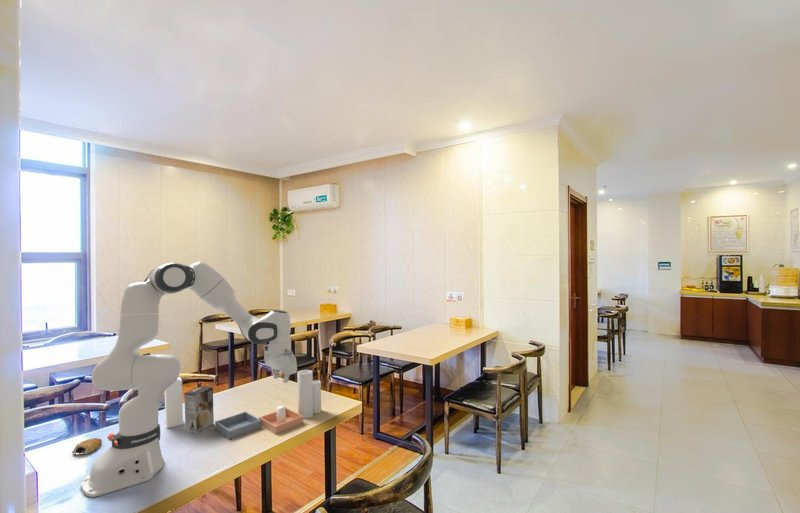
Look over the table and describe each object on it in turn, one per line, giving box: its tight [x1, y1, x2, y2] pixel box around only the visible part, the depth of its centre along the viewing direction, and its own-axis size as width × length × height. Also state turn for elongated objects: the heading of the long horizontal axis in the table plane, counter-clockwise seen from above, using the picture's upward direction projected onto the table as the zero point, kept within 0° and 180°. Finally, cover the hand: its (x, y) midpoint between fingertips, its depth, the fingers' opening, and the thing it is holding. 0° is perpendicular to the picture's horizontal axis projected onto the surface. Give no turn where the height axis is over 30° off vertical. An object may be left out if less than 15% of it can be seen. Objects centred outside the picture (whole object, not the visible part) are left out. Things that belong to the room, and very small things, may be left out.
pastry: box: [71, 437, 102, 455], centre depth 145 cm, size 9×7×4 cm
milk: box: [164, 376, 184, 429], centre depth 166 cm, size 6×6×22 cm
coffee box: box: [183, 385, 215, 434], centre depth 162 cm, size 9×6×16 cm
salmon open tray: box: [258, 407, 304, 435], centre depth 164 cm, size 13×13×4 cm
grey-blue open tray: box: [214, 411, 262, 441], centre depth 160 cm, size 13×13×4 cm
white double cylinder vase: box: [297, 369, 322, 420], centre depth 174 cm, size 11×7×20 cm, turn 151°
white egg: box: [276, 405, 286, 425], centre depth 164 cm, size 4×4×7 cm
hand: (280, 380), depth 164 cm, fingers open, 6 cm apart
